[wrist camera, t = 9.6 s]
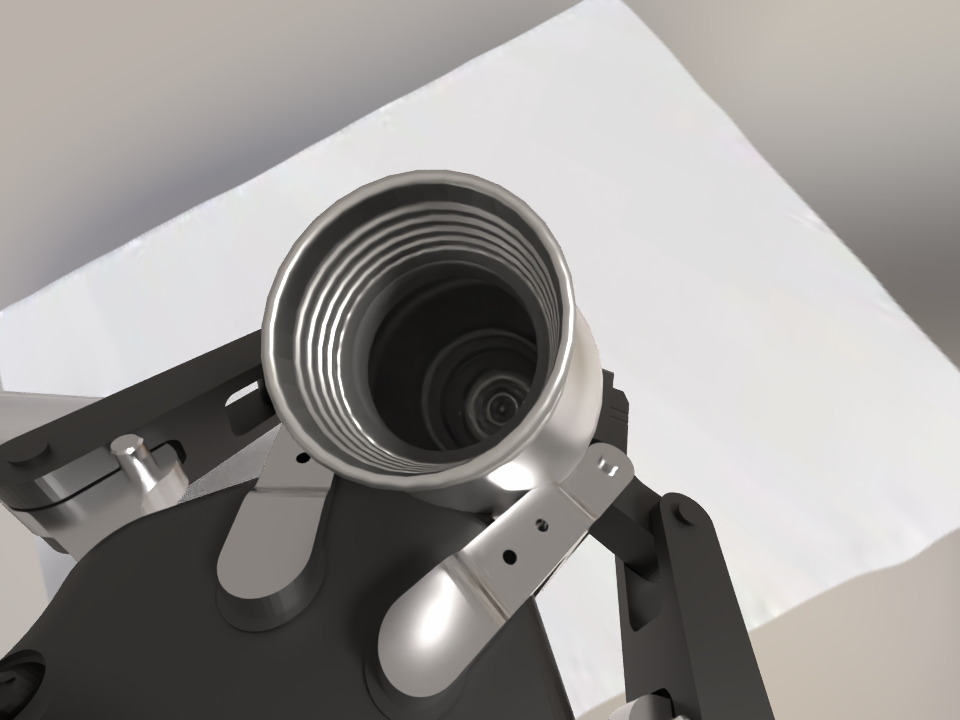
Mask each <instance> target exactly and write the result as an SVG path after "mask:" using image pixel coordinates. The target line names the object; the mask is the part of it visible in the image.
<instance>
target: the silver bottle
mask: <svg viewBox="0 0 960 720" xmlns="http://www.w3.org/2000/svg"><path fill="white" fill-rule="evenodd" d="M261 361H262V366H263V372H264V378H265V384H266V388H267V391H268V393H269V396H270V398H271V401H272V404H273V406H274V409H275V411H276V414H277V416H278V417H279V419H280V420H281V422H282V423H283V425H284V426H285V428H286V430H287V431H288V433H289V434H290V436H291V437H292V439H293V440H294V441H295V442H296V443H297V444H298V445H299V446H300V447H301V448H302V449H303V450H304V451H305V452H306V453H307V454H308V455H309V456H310V457H311V458H312V459H313V460H314V461H315V462H317V463H319V464H320V465H322V466H324V467H325V468H327V469H329V470H330V471H332V472H333V473H335V474H337V475H338V476H340V477H342V478H344V479H347V480H350V481H353V482H356V483H359V484H362V485H365V486H368V487H371V488H378V489H385V490H395V491H404V492H405V493H407V494H409V495H411V496H412V497H415V498H418V499H420V500H423V501H426V502H428V503H431V504H434V505H437V506H442V507H447V508H452V509H456V510H461V511H469V512H474V513H492V515H491V517H492V518H493V519H495V520H497V519H498V518H499V517H500V516H502V515H503V514H504V513H505V512H506V511H507V510H509V509H510V508H511V507H512V506H513V505H514V504H516V503H517V502H518V501H519V500H520V499H521V498H523V497H524V496H525V495H526V494H527V493H528V492H530V491H531V490H532V489H536V488H539V487H541V486H544V485H546V484H548V483H551V482H558V483H561V482H562V481H563V480H565V479H566V478H567V477H568V476H569V475H570V474H571V473H572V472H573V470H574V469H575V468H576V466H577V465H578V463H579V462H580V461H581V459H582V458H583V457H584V455H585V453H586V451H587V448H588V446H589V444H590V442H591V440H592V438H593V435H594V433H595V431H596V427H597V423H598V419H599V415H600V411H601V406H602V392H603V374H602V368H601V361H600V355H599V350H598V348H597V345H596V342H595V340H594V337H593V334H592V332H591V329H590V327H589V325H588V323H587V321H586V320H585V318H584V317H583V315H582V313H581V312H580V310H579V309H578V307H577V305H576V303H575V296H574V289H573V283H572V276H571V273H570V271H569V268H568V265H567V263H566V260H565V257H564V255H563V252H562V249H561V247H560V245H559V244H558V242H557V240H556V239H555V237H554V236H553V234H552V233H551V231H550V229H549V228H548V226H547V225H546V223H545V222H544V221H543V220H542V219H541V218H540V217H539V216H538V215H537V214H536V213H535V212H534V211H533V210H532V209H531V208H530V207H529V206H528V205H527V204H526V202H525V201H523V200H522V199H520V198H519V197H517V196H516V195H514V194H513V193H511V192H510V191H508V190H506V189H505V188H503V187H502V186H500V185H498V184H495V183H493V182H490V181H488V180H485V179H483V178H480V177H478V176H475V175H471V174H466V173H460V172H455V171H449V170H415V171H410V172H405V173H400V174H395V175H390V176H387V177H384V178H382V179H379V180H376V181H374V182H371V183H368V184H366V185H363V186H361V187H359V188H358V189H356V190H354V191H353V192H351V193H349V194H348V195H346V196H344V197H342V198H341V199H339V200H337V201H336V202H335V203H334V204H332V205H331V206H330V207H329V208H328V209H326V210H325V211H324V212H323V213H322V214H321V215H319V216H318V217H317V218H316V219H315V220H313V222H312V223H311V224H310V225H309V226H308V228H307V229H306V230H305V231H304V232H303V233H302V235H301V236H300V237H299V238H298V239H297V240H296V242H295V243H294V244H293V246H292V248H291V249H290V251H289V253H288V254H287V256H286V257H285V259H284V261H283V262H282V264H281V266H280V267H279V269H278V272H277V274H276V277H275V279H274V282H273V284H272V287H271V290H270V292H269V295H268V297H267V302H266V307H265V312H264V317H263V322H262V327H261Z"/></svg>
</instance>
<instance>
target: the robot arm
mask: <svg viewBox="0 0 960 720" xmlns="http://www.w3.org/2000/svg"><path fill="white" fill-rule="evenodd" d="M602 374H603V392H602V406H601V411H600V415H599V419H598V423H597V427H596V431H595V433H594V435H593V438H592V440H591V442H590V444H589V446H588V448H587V451H586V453H585V455H584V457H583V458H582V459H581V461H580V462H579V463H578V465H577V466H576V468H575V469H574V470H573V472H572V473H571V474H570V475H569V476H568V477H567V478H566V479H565V480H563V481H562V482H561V483H558V482H551V483H548V484H546V485H544V486H541V487H539V488H536V489H532V490H531V491H530V492H528V493H527V494H526V495H525V496H524V497H523V498H521V499H520V500H519V501H518V502H517V503H516V504H514V505H513V506H512V507H511V508H510V509H509V510H507V511H506V512H505V513H504V514H503V515H502V516H500V517H499V518H498V519H497V520H495V519H493V518H492V517H491V515H492V513H474V512H469V511H461V510H456V509H452V508H447V507H442V506H437V505H434V504H431V503H428V502H426V501H423V500H420V499H418V498H415V497H412V496H411V495H409V494H407V493H405V492H404V491H395V490H385V489H378V488H371V487H368V486H365V485H362V484H359V483H356V482H353V481H350V480H347V479H344V478H342V477H340V476H338V475H337V474H335V473H333V472H332V471H330V470H329V469H327V468H325V467H324V466H322V465H320V464H319V463H317V462H315V461H314V460H313V459H312V458H311V457H310V456H309V455H308V454H307V453H306V452H305V451H304V450H303V449H302V448H301V447H300V446H299V445H298V444H297V443H296V442H295V441H294V440H293V439H292V437H291V436H290V434H289V433H288V431H287V430H286V428H285V426H284V425H283V423H282V425H281V428H280V430H279V432H278V435H277V437H276V440H275V442H274V444H273V447H272V449H271V451H270V454H269V456H268V459H267V461H266V463H265V466H264V468H263V470H262V473H261V475H260V477H258V478H255V479H252V480H249V481H246V482H243V483H240V484H237V485H234V486H231V487H228V488H225V489H222V490H219V491H216V492H213V493H210V494H207V495H204V496H201V497H198V498H195V499H192V500H189V501H186V502H183V503H180V504H178V501H179V500H180V499H181V498H182V497H183V496H184V494H185V493H186V491H187V489H188V486H189V485H190V484H192V483H193V482H194V481H196V480H197V479H199V478H200V477H202V476H203V475H205V474H206V473H208V472H209V471H211V470H212V469H214V468H215V467H216V466H218V465H219V464H221V463H222V462H224V461H225V460H227V459H228V458H230V457H231V456H233V455H234V454H236V453H237V452H238V451H240V450H241V449H243V448H244V447H246V446H247V445H249V444H250V443H252V442H253V441H255V440H256V439H258V438H259V437H260V436H262V435H263V434H265V433H266V432H268V431H269V430H271V429H272V428H274V427H275V426H277V425H278V424H280V423H281V420H280V419H279V417H278V416H277V414H276V411H275V409H274V406H273V404H272V401H271V398H270V396H269V393H268V391H267V388H266V384H265V378H264V372H263V366H262V361H261V329H260V330H257V331H255V332H253V333H251V334H248V335H246V336H244V337H241V338H239V339H237V340H235V341H232V342H230V343H228V344H226V345H223V346H221V347H219V348H217V349H214V350H212V351H210V352H207V353H205V354H203V355H201V356H198V357H196V358H194V359H192V360H189V361H187V362H185V363H183V364H180V365H178V366H176V367H174V368H171V369H169V370H167V371H164V372H162V373H160V374H158V375H155V376H153V377H151V378H149V379H146V380H144V381H142V382H140V383H137V384H135V385H133V386H131V387H128V388H126V389H124V390H121V391H119V392H117V393H115V394H112V395H110V396H108V397H106V398H100V397H85V396H70V395H55V394H40V393H25V392H10V391H0V502H1V503H2V505H3V506H4V507H5V508H6V509H7V510H8V511H9V512H11V513H12V514H13V515H14V516H15V517H16V518H17V519H18V520H19V521H20V522H21V523H22V524H24V525H25V526H26V527H27V528H28V529H29V530H30V531H31V532H32V533H33V534H35V535H38V536H40V537H41V538H43V539H44V540H45V541H46V542H47V543H48V544H49V545H50V546H51V547H52V548H53V549H54V550H56V551H57V552H60V553H63V554H70V555H71V556H72V557H73V558H74V559H75V560H76V561H77V562H78V563H77V564H76V566H75V567H74V568H73V569H72V570H71V572H70V573H69V575H68V576H67V578H66V579H65V581H64V582H63V584H62V585H61V587H60V589H59V590H58V592H57V593H56V595H55V597H54V598H53V600H52V601H51V602H50V604H49V605H48V607H47V608H46V610H45V611H44V612H43V614H42V615H41V616H40V617H39V619H38V620H37V621H36V622H35V623H34V625H33V626H32V627H31V628H30V630H29V631H28V632H27V633H26V634H25V635H24V636H23V638H22V639H21V640H20V641H19V642H18V643H17V644H16V645H15V646H14V647H13V648H12V649H11V650H10V651H9V652H8V653H7V654H6V655H5V656H4V657H3V658H2V659H1V660H0V720H575V717H574V714H573V711H572V708H571V705H570V702H569V699H568V696H567V694H566V691H565V688H564V685H563V682H562V679H561V676H560V673H559V670H558V667H557V664H556V661H555V658H554V655H553V652H552V649H551V646H550V643H549V640H548V637H547V634H546V631H545V628H544V625H543V622H542V619H541V616H540V613H539V610H538V607H537V604H536V601H535V598H536V597H537V596H538V595H539V594H540V592H541V591H542V590H543V589H544V588H545V586H546V585H547V584H548V583H549V582H550V580H551V579H552V578H553V577H554V575H555V574H556V573H557V572H558V570H559V569H560V568H561V567H562V566H563V565H564V563H565V562H566V561H567V560H568V559H569V558H570V556H571V555H572V554H573V553H574V552H575V551H576V549H577V548H578V547H579V546H580V545H581V544H582V542H583V541H584V540H585V539H586V538H587V537H588V535H589V534H590V535H592V536H593V537H594V538H595V539H597V540H598V541H599V542H600V543H601V544H603V545H604V546H605V547H606V548H607V549H609V550H610V551H611V552H612V553H614V554H615V564H616V576H617V589H618V602H619V614H620V627H621V640H622V652H623V665H624V678H625V691H626V702H627V704H625V705H623V706H621V707H619V708H617V709H616V710H615V711H614V712H613V713H612V714H611V716H610V717H609V719H608V720H775V718H774V715H773V712H772V709H771V706H770V702H769V700H768V696H767V693H766V690H765V687H764V684H763V680H762V677H761V674H760V671H759V668H758V664H757V661H756V658H755V655H754V652H753V649H752V646H751V642H750V639H749V636H748V633H747V630H746V626H745V623H744V620H743V617H742V614H741V611H740V607H739V604H738V601H737V598H736V595H735V592H734V588H733V585H732V582H731V579H730V576H729V573H728V569H727V566H726V563H725V560H724V557H723V554H722V550H721V547H720V544H719V541H718V538H717V535H716V531H715V528H714V525H713V523H712V520H711V519H710V517H709V515H708V514H707V512H706V511H705V510H704V509H703V508H702V507H701V506H700V505H699V504H698V503H697V502H695V501H694V500H692V499H691V498H689V497H687V496H685V495H683V494H680V493H674V492H672V493H667V494H665V495H663V496H662V497H661V496H660V495H658V494H657V493H655V492H654V491H653V490H651V489H650V488H648V487H647V486H646V485H644V484H643V483H642V482H641V481H640V480H639V479H638V478H637V477H636V476H635V475H634V467H633V464H632V462H631V461H630V459H629V458H628V457H627V436H628V425H627V424H628V413H629V402H628V400H627V398H626V396H625V394H624V392H623V391H620V390H618V389H615V388H613V379H614V373H613V372H610V371H607V370H605V369H602ZM255 381H257V383H258V389H256V390H254V391H252V392H251V393H249V394H247V395H245V396H244V397H242V398H240V399H238V400H237V401H235V402H233V403H231V404H230V405H228V406H226V407H225V404H226V402H227V400H228V398H229V397H230V396H231V395H232V394H234V393H235V392H237V391H239V390H241V389H243V388H244V387H246V386H248V385H250V384H252V383H254V382H255Z"/></svg>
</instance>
